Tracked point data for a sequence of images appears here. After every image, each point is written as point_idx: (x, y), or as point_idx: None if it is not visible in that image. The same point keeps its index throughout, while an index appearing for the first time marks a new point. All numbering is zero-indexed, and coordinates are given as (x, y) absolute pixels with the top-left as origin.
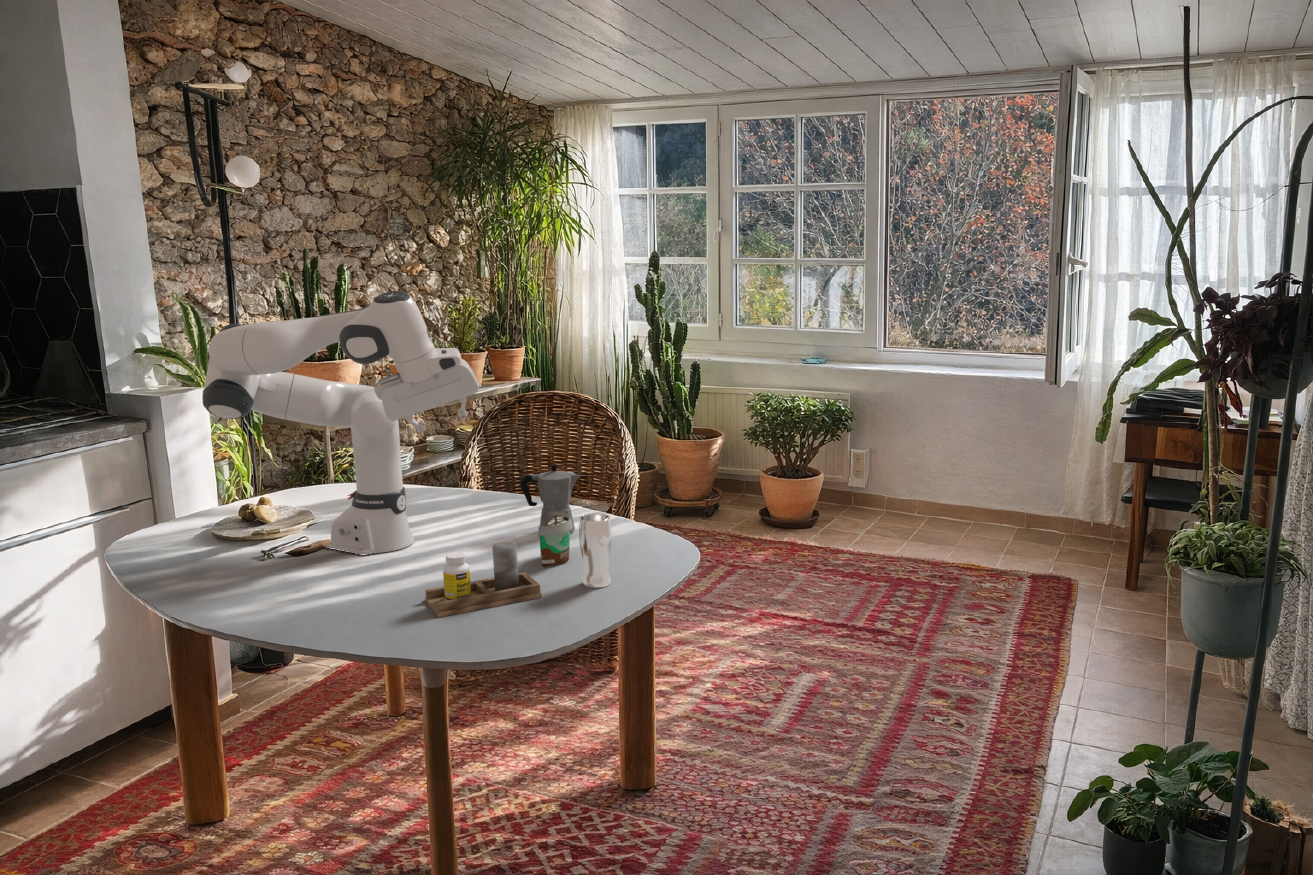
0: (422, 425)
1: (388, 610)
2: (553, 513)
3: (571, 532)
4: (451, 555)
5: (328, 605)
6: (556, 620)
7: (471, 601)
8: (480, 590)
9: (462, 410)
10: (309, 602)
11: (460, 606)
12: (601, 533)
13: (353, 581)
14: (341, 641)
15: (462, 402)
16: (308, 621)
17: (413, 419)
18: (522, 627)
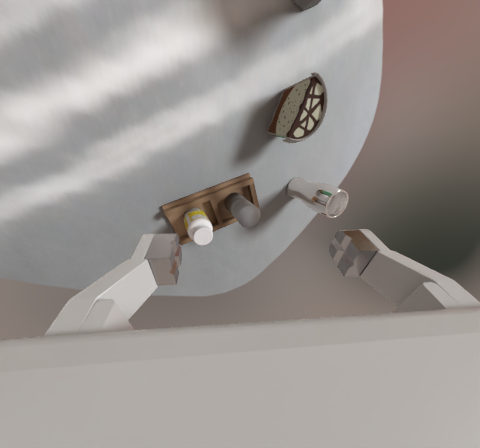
0: (177, 274)
1: (130, 226)
2: (317, 74)
3: (318, 2)
4: (199, 237)
5: (45, 209)
6: (259, 248)
7: None
8: (214, 213)
9: (362, 274)
10: (6, 197)
11: None
12: (328, 212)
13: (33, 125)
14: None
15: (403, 292)
16: (46, 248)
17: (121, 290)
18: (239, 257)
